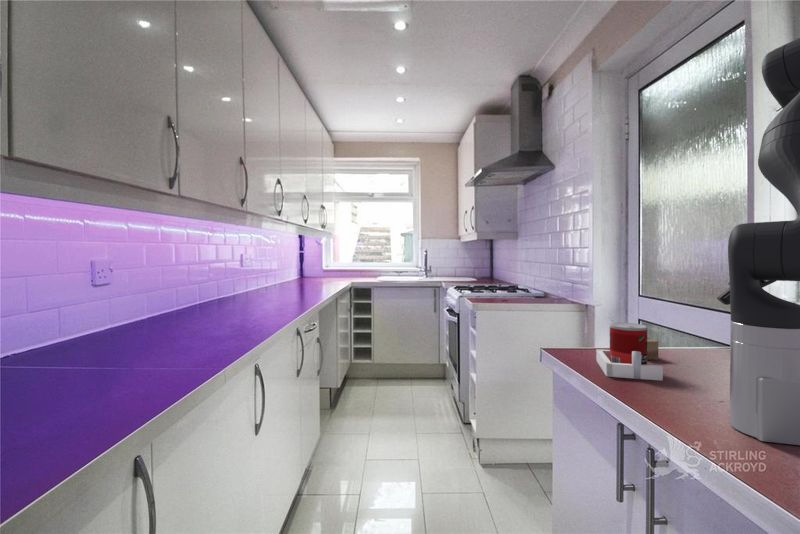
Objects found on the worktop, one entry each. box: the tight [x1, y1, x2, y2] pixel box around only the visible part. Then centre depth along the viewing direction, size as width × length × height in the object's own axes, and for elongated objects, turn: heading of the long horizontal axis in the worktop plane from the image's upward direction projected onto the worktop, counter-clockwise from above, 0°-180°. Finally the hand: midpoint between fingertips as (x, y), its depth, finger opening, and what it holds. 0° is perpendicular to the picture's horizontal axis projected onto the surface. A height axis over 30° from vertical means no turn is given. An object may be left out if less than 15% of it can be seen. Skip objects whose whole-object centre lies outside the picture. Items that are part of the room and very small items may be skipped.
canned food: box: [609, 322, 648, 365], centre depth 95 cm, size 8×8×11 cm
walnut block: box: [647, 337, 659, 361], centre depth 106 cm, size 5×5×5 cm
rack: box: [595, 348, 664, 382], centre depth 95 cm, size 15×11×6 cm
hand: (721, 301), depth 88 cm, fingers closed
